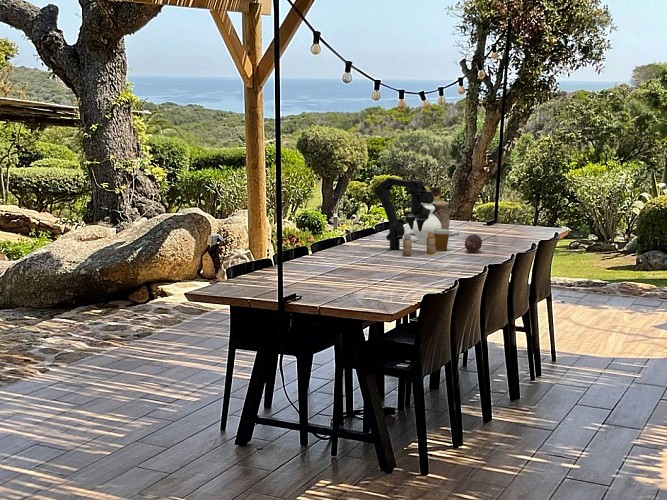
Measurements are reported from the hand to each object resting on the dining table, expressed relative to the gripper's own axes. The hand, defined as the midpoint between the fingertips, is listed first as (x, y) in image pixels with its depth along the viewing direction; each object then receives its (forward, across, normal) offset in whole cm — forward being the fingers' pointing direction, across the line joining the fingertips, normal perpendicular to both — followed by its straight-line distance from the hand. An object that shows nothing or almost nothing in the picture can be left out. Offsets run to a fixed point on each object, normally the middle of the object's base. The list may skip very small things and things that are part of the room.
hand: (415, 230), depth 487 cm
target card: (+13, -11, +4) cm, 17 cm away
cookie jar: (+13, +61, -49) cm, 79 cm away
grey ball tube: (+12, -11, +12) cm, 20 cm away
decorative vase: (+13, +32, -26) cm, 43 cm away
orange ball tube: (+12, -11, -4) cm, 17 cm away
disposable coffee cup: (+13, +2, -18) cm, 22 cm away
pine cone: (+13, -10, -32) cm, 36 cm away
